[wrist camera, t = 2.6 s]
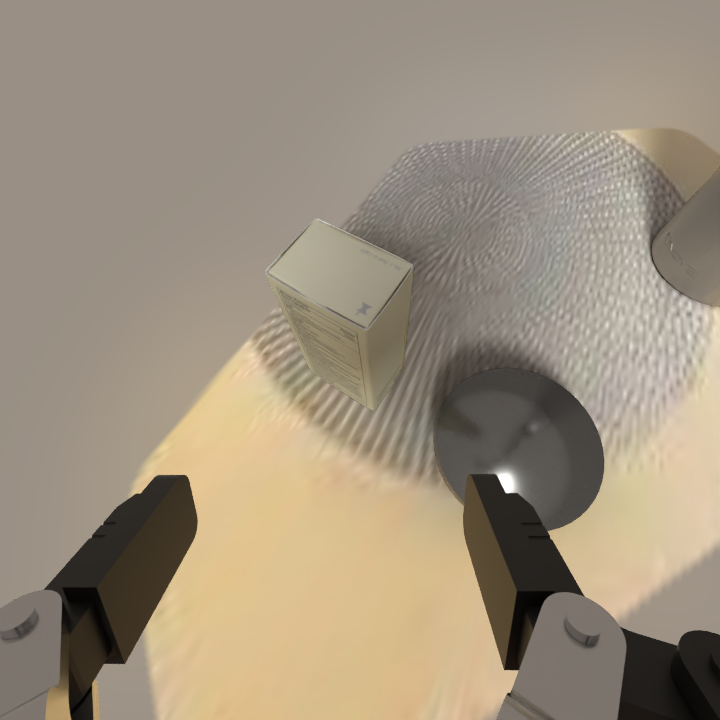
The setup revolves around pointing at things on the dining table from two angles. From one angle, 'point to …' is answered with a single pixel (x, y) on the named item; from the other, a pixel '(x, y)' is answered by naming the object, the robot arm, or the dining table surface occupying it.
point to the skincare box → (345, 308)
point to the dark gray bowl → (521, 442)
